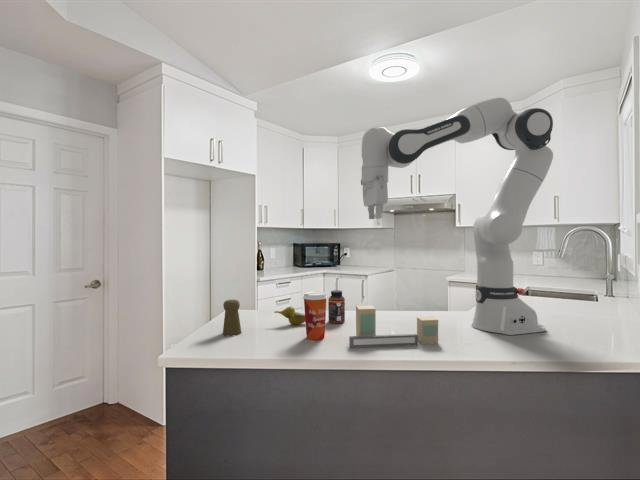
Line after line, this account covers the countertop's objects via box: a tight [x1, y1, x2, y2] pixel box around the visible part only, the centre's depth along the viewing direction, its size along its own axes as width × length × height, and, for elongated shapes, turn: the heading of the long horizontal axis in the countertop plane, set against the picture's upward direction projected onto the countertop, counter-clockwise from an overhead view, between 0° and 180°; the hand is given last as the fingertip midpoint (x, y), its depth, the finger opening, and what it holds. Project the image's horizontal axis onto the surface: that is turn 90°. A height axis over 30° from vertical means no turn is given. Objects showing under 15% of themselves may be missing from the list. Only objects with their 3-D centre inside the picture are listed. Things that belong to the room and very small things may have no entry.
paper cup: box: [302, 290, 328, 341], centre depth 117 cm, size 8×8×14 cm
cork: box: [222, 299, 242, 337], centre depth 122 cm, size 6×6×11 cm
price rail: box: [348, 333, 419, 349], centre depth 108 cm, size 20×1×3 cm, turn 95°
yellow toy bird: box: [273, 306, 306, 326], centre depth 132 cm, size 4×15×6 cm, turn 98°
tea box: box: [416, 316, 439, 345], centre depth 112 cm, size 5×4×7 cm
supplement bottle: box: [327, 289, 346, 324], centre depth 136 cm, size 6×6×11 cm
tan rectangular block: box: [355, 304, 377, 336], centre depth 114 cm, size 5×5×10 cm
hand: (375, 218), depth 125 cm, fingers open, 8 cm apart
